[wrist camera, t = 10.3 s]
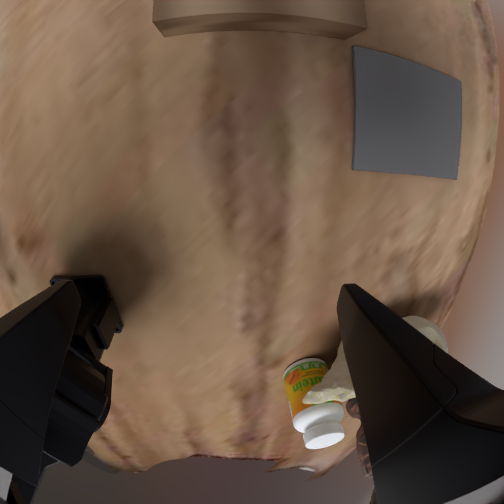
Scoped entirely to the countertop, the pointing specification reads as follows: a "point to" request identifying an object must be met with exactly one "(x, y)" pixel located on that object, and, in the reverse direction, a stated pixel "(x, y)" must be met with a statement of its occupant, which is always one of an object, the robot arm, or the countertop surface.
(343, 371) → the cream lumpy knobby chunk
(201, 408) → the countertop surface
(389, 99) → the mat
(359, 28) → the block
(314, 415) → the supplement bottle
